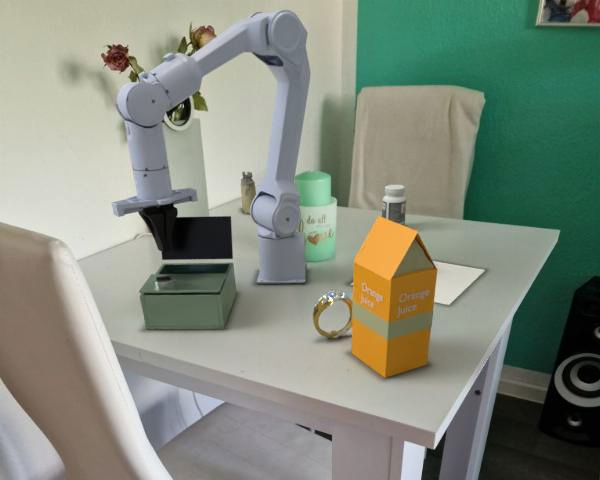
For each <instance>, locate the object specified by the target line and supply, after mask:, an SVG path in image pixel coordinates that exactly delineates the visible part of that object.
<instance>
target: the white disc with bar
mask: <svg viewBox="0 0 600 480" xmlns="http://www.w3.org/2000/svg"><path fill="white" fill-rule="evenodd" d="M154 285H155V287H156V288H169V287H172V286H173V285H174V279H173V277H172V276H159V277H156V278H155V279H154Z"/></svg>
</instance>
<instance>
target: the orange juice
mask: <svg viewBox="0 0 600 480" xmlns="http://www.w3.org/2000/svg"><path fill="white" fill-rule="evenodd" d="M433 261H434V260H433V259H432V258H431V255H430V253H429V251H428V249H427V247H426V245H425V244H424V241H423V240H422V238H421V236H420V234H419V231H418V230H416V229H413V228H410V227H408V226H403V225H401V224H398V223H395V222H393V221H390V220H388V219H385V218H383V217H382V216H380V215H378V216H377V218H376V220H375V222H374V223H373V225H372V227H371V229H370V230H369V232H368V234H367V236H366V237H365V239H364V241H363V243H362V245H361V247H360V248H359V251H358V252H357V254H356V255H355V258H354V259H353V280H352V283H353V285H352V301H353V303H352V317H353V318H352V327H351V354H352V355H354V356H355V357H356V358H357V359H359V360H360V361H362V363H364V364H365V365H367V366H368V367H369V368H371V369H372V370H373V371H375V372H376V373H378V374H379V375H380V376H381V377H383V378H384V379H387V378H389V377H393V376H396V375H399V374H402V373H406V372H408V371H411V370H414V369H417V368H418V369H419V368H422V367H424V366H427V365H428V359H429V352H430V351H429V350H430V342H431V332H432V327H433V319H434V307H435V305H434V304H435V302H434V297H435V288H436V279H437V270H438V268H436V266H435V265H434V263H433Z"/></svg>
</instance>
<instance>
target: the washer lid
mask: <svg viewBox="0 0 600 480" xmlns="http://www.w3.org/2000/svg"><path fill="white" fill-rule="evenodd" d="M232 230H233V229H232V216H230V215H220V216H177V217H176V220H175V223H174V226H173V230H172V235H171V244H170V251H167V252H161V260H162V261H170V260H171V261H178V260H179V261H180V260H185V261H187V260H190V261H191V260H233V259H234V252H233V250H234V249H233V231H232Z"/></svg>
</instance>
